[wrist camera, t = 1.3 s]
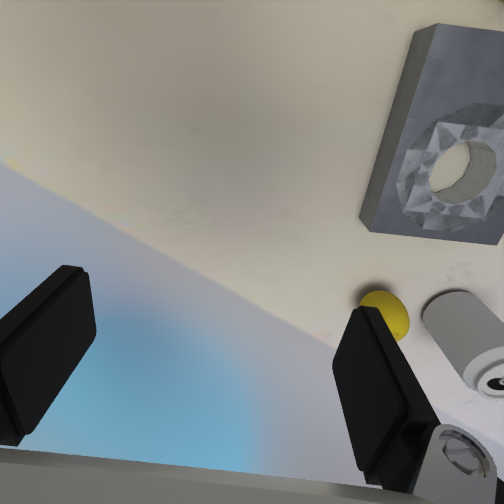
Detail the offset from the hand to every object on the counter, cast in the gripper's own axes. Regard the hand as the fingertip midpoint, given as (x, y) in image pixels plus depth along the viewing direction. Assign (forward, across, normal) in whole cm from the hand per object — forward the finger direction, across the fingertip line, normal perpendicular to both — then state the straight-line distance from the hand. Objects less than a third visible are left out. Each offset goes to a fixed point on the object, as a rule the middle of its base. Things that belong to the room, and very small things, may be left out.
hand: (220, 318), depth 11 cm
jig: (+25, -21, -5) cm, 33 cm away
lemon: (+25, -19, +15) cm, 35 cm away
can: (+25, -30, +16) cm, 43 cm away
